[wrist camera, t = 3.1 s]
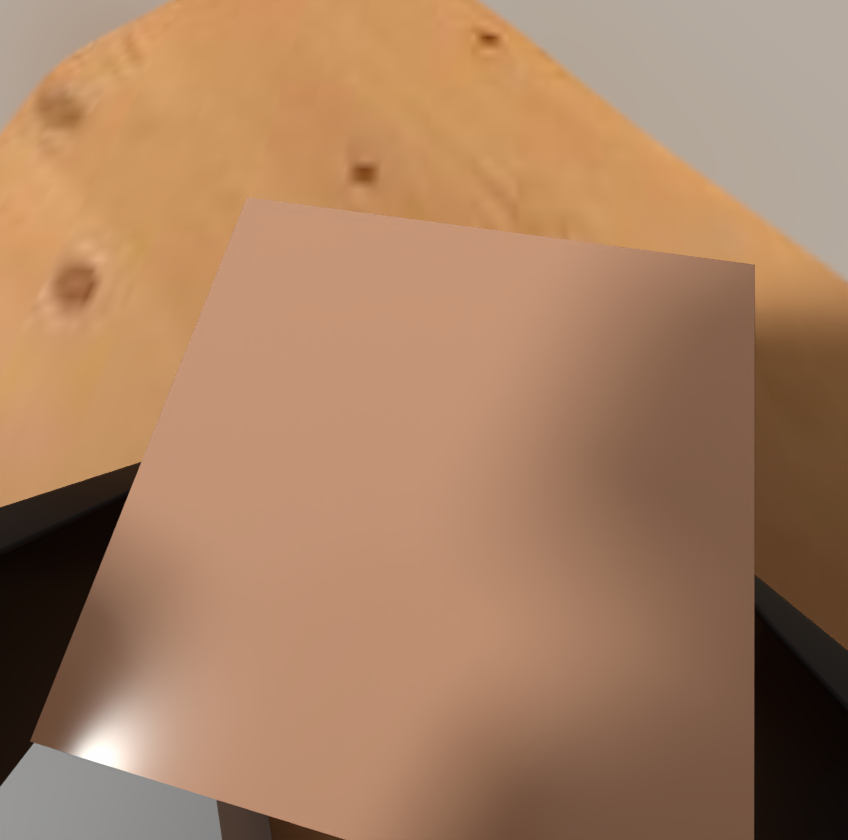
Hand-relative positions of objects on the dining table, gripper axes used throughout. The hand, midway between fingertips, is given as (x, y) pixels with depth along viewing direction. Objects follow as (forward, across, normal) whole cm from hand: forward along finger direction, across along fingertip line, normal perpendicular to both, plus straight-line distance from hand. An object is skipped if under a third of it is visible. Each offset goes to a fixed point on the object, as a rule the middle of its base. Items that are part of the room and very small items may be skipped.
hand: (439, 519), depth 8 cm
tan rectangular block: (+6, 0, +6) cm, 8 cm away
